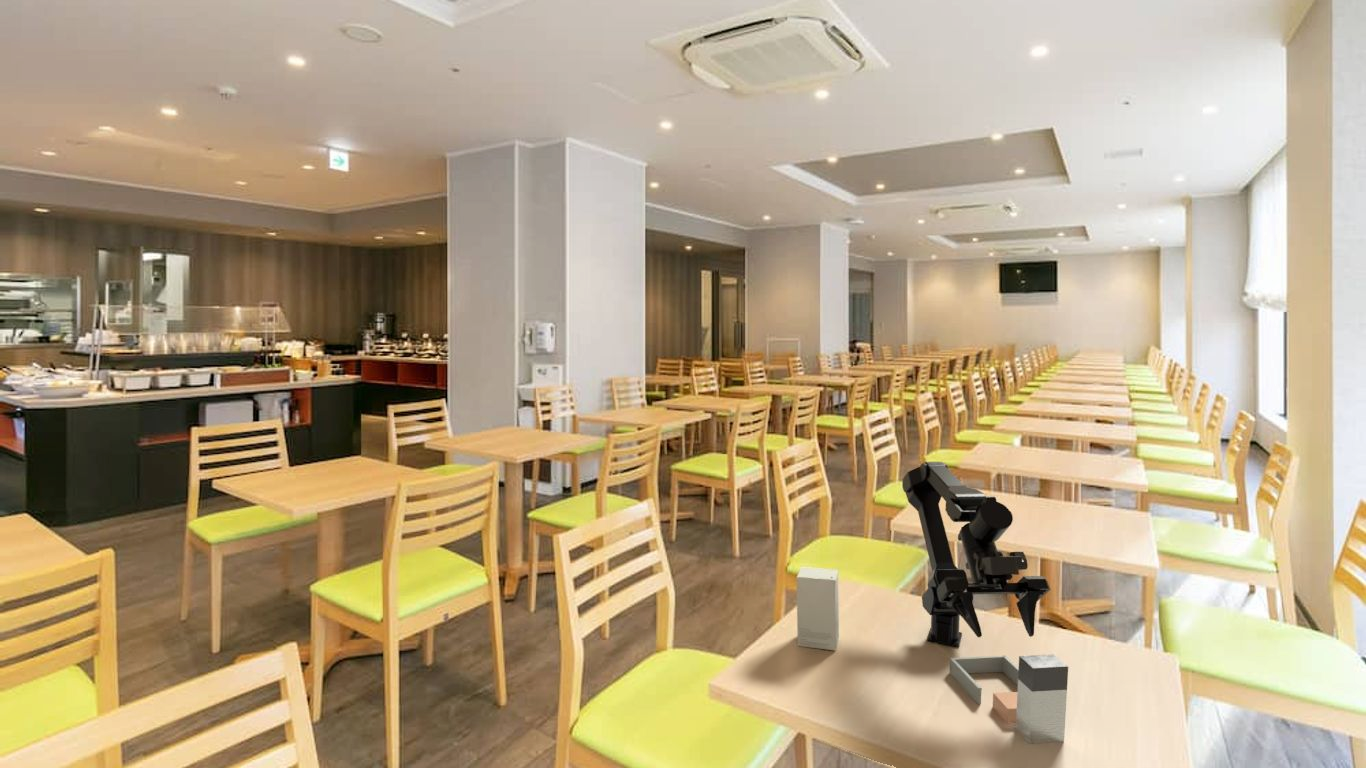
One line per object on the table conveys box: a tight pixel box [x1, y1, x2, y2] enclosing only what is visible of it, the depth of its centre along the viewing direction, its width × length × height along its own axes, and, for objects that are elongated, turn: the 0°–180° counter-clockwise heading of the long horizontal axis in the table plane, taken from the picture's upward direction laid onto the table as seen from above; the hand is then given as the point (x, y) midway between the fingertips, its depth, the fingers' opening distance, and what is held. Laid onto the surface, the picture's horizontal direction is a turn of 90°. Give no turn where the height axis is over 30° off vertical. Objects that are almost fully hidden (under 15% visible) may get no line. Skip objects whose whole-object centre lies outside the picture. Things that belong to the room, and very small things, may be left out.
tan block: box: [992, 691, 1018, 724], centre depth 122 cm, size 5×7×3 cm
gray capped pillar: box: [1015, 653, 1069, 745], centre depth 116 cm, size 4×6×13 cm, turn 95°
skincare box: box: [796, 566, 840, 651], centre depth 148 cm, size 8×7×16 cm
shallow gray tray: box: [949, 655, 1019, 705], centre depth 132 cm, size 11×11×3 cm
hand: (1005, 636), depth 123 cm, fingers open, 9 cm apart
